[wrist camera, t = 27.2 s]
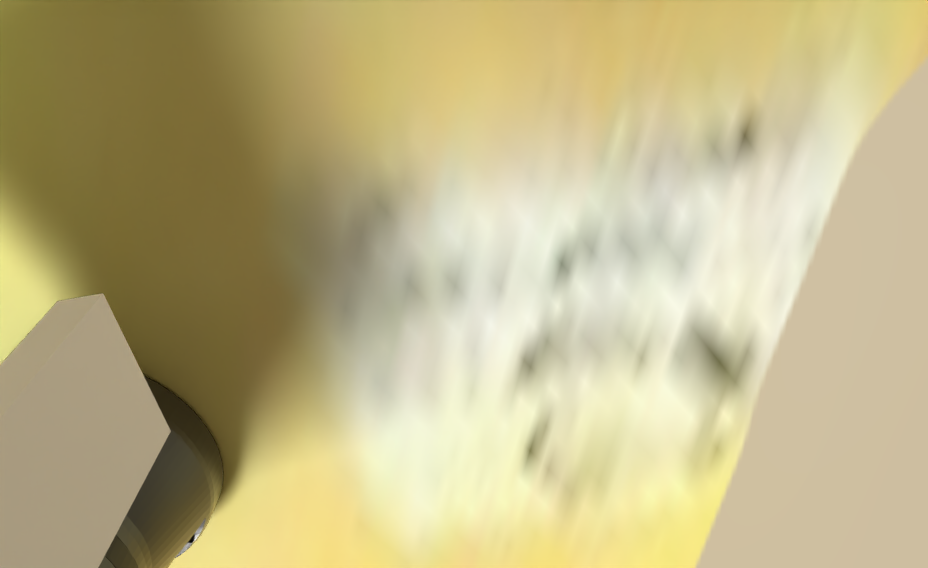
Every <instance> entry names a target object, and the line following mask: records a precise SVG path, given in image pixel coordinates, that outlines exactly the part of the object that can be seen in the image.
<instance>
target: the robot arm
mask: <svg viewBox="0 0 928 568" xmlns="http://www.w3.org/2000/svg"><path fill="white" fill-rule="evenodd" d="M222 485H223V466H222V460H221V456H220V453H219V450H218V448H217V445H216V443H215V441H214V439H213V437H212V435H211V434H210V432H209V430H208V429H207V427H206V426H205V424H204V423H203V422H202V421H201V419H200V418H199V417H198V416H197V415H196V414H195V412H194V411H193V410H192V409H191V408H190V407H189V406H188V405H186V404H185V403H184V402H183V401H182V400H181V399H180V398H178V397H177V396H176V395H174V394H173V393H172V392H170V391H169V390H167V389H166V388H164V387H163V386H161V385H159V384H158V383H156V382H154V381H152V380H151V379H149V378H147V377H145V376H143V373H142V371H141V369H140V367H139V365H138V363H137V361H136V359H135V357H134V355H133V353H132V351H131V349H130V347H129V345H128V343H127V341H126V339H125V337H124V335H123V333H122V331H121V329H120V327H119V325H118V323H117V321H116V318H115V316H114V314H113V312H112V310H111V308H110V306H109V304H108V302H107V300H106V298H105V296H104V294H103V293H102V294H96V295H90V296H84V297H78V298H72V299H67V300H61V301H57V302H56V303H55V304H54V306H53V307H52V308H51V309H50V310H49V311H48V312H47V313H46V314H45V316H44V317H43V318H42V319H41V320H40V321H39V322H38V323H37V324H36V326H35V327H34V328H33V329H32V330H31V331H30V332H29V333H28V335H27V336H26V337H25V338H24V339H23V340H22V341H21V342H20V343H19V345H18V346H17V347H16V348H15V349H14V350H13V351H12V352H11V353H10V355H9V356H8V357H7V358H6V359H5V360H4V361H3V362H2V363H1V365H0V568H168V567H169V565H170V564H171V563H172V561H173V559H174V558H176V557H178V556H180V555H181V554H182V553H184V552H185V551H186V550H187V549H188V548H190V546H191V545H192V544H193V543H194V542H195V541H196V540H197V539H198V538H199V537H200V535H201V534H202V532H203V531H204V529H205V528H206V526H207V524H208V522H209V520H210V518H211V515H212V513H213V511H214V509H215V506H216V504H217V502H218V499H219V497H220V494H221V490H222Z"/></svg>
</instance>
